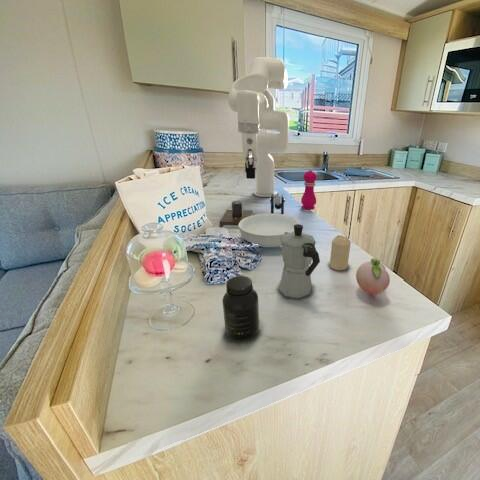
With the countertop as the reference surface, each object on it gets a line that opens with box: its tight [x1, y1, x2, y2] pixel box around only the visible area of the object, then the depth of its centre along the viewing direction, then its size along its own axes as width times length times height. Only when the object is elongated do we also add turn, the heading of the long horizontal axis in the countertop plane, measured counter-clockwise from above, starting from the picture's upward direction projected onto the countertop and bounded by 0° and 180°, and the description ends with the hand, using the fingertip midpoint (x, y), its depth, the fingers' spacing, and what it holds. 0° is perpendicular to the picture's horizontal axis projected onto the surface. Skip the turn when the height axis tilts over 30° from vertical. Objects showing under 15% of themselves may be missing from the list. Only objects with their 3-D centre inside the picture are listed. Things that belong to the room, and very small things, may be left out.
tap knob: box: [231, 200, 243, 217], centre depth 110 cm, size 4×4×6 cm
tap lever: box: [274, 195, 281, 210], centre depth 114 cm, size 13×3×3 cm, turn 6°
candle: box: [329, 234, 351, 271], centre depth 83 cm, size 6×6×10 cm
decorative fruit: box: [355, 257, 391, 295], centre depth 71 cm, size 9×8×10 cm
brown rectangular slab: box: [219, 209, 254, 228], centre depth 111 cm, size 14×11×3 cm
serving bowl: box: [237, 212, 301, 248], centre depth 96 cm, size 21×21×7 cm
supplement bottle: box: [222, 275, 260, 342], centre depth 55 cm, size 7×7×12 cm
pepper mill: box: [300, 167, 318, 211], centre depth 128 cm, size 7×7×20 cm
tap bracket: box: [269, 194, 286, 215], centre depth 111 cm, size 12×9×12 cm
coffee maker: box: [278, 223, 321, 300], centre depth 68 cm, size 15×9×18 cm, turn 36°
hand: (250, 175), depth 107 cm, fingers open, 9 cm apart
